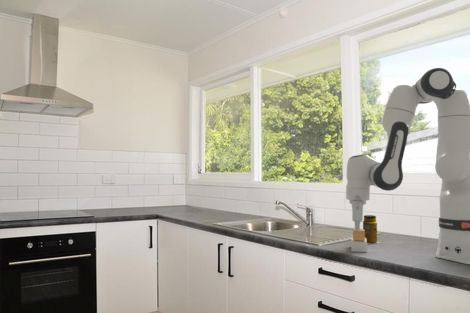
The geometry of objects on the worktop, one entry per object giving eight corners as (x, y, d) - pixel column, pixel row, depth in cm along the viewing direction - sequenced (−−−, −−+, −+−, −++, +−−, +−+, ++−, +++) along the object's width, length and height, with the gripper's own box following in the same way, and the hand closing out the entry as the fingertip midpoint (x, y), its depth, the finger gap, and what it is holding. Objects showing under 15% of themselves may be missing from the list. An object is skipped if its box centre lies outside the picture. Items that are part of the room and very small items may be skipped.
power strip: (351, 246, 159) (351, 236, 160) (366, 247, 158) (366, 237, 158) (351, 251, 150) (351, 240, 150) (367, 252, 148) (366, 241, 148)
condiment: (381, 242, 168) (381, 216, 169) (367, 244, 165) (366, 217, 165) (369, 240, 175) (369, 214, 175) (355, 241, 171) (355, 215, 172)
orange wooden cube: (353, 238, 154) (353, 228, 154) (364, 239, 153) (364, 229, 153) (353, 240, 150) (353, 230, 150) (364, 240, 149) (364, 230, 149)
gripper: (366, 197, 137) (366, 235, 137) (365, 193, 156) (365, 226, 156) (348, 196, 139) (348, 234, 139) (349, 193, 158) (349, 225, 158)
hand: (357, 230), depth 148 cm, fingers closed
